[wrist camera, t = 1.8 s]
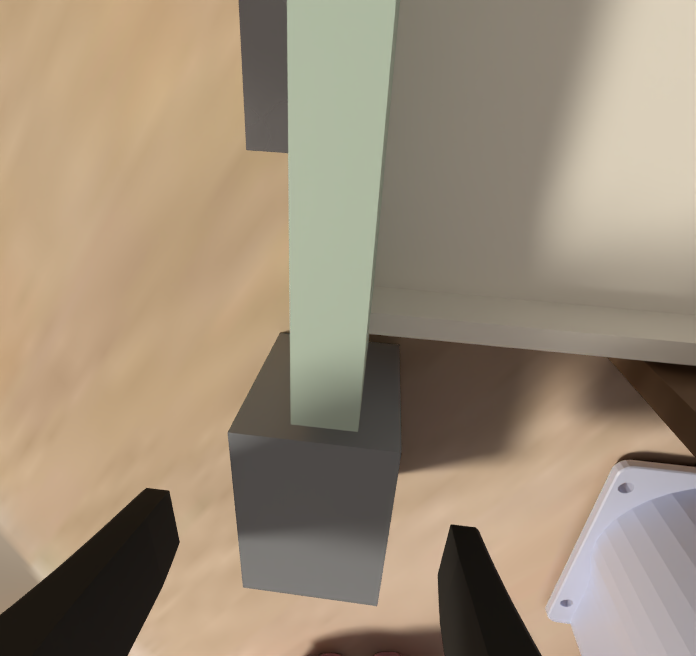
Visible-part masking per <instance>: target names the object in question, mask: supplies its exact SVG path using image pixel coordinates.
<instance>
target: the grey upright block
mask: <svg viewBox="0 0 696 656" xmlns="http://www.w3.org/2000/svg"><path fill="white" fill-rule="evenodd" d="M228 441H229V451H230V461H231V471H232V481H233V491H234V501H235V511H236V521H237V531H238V541H239V551H240V561H241V571H242V581H243V587H244V588H251V589H258V590H266V591H273V592H280V593H287V594H294V595H301V596H308V597H316V598H323V599H330V600H337V601H344V602H351V603H358V604H366V605H373V606H377V604H378V598H379V592H380V585H381V579H382V573H383V566H384V560H385V554H386V547H387V541H388V535H389V528H390V522H391V516H392V509H393V503H394V497H395V490H396V484H397V478H398V471H399V465H400V459H401V403H400V349H399V345H397V344H387V343H377V342H368V350H367V359H366V367H365V376H364V384H363V393H362V402H361V410H360V419H359V428H358V432H354V431H345V430H336V429H327V428H318V427H309V426H301V425H292V424H291V405H290V334H287V333H280V334H279V336H278V338H277V340H276V342H275V343H274V345H273V347H272V349H271V351H270V353H269V355H268V357H267V359H266V361H265V362H264V364H263V366H262V368H261V370H260V372H259V374H258V376H257V378H256V380H255V382H254V383H253V385H252V387H251V389H250V391H249V393H248V395H247V397H246V399H245V401H244V402H243V404H242V406H241V408H240V410H239V412H238V414H237V416H236V418H235V420H234V421H233V423H232V425H231V427H230V429H229V431H228Z"/></svg>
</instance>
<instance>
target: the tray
mask: <svg viewBox="0 0 696 656" xmlns="http://www.w3.org/2000/svg"><path fill="white" fill-rule="evenodd" d="M239 16H240V35H241V54H242V74H243V93H244V113H245V132H246V150H253V151H267V152H281V153H288V178H289V291H290V405H291V424H292V425H301V426H309V427H318V428H327V429H336V430H345V431H354V432H358V428H359V419H360V410H361V402H362V393H363V384H364V376H365V367H366V359H367V350H368V341H369V334H375V335H386V336H396V337H406V338H416V339H427V340H437V341H447V342H457V343H468V344H478V345H488V346H498V347H509V348H519V349H529V350H540V351H550V352H560V353H570V354H581V355H591V356H601V357H611V358H622V359H632V360H642V361H652V362H663V363H673V364H683V365H694V366H696V0H239Z"/></svg>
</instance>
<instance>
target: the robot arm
mask: <svg viewBox="0 0 696 656" xmlns="http://www.w3.org/2000/svg"><path fill="white" fill-rule="evenodd" d="M623 483H624V484H623ZM179 543H180V542H179V537H178V532H177V527H176V522H175V517H174V512H173V507H172V502H171V497H170V492H169V491H167V490H159V489H150V488H146V489H145V490H143V491H142V492H141V493H140V494H139V495H138V496H137V497H136V498H134V499H133V500H132V501H131V502H130V503H129V504H128V505H127V506H126V507H125V508H124V509H123V510H121V511H120V512H119V513H118V514H117V515H116V516H115V517H114V518H113V519H112V520H111V521H110V522H108V523H107V524H106V525H105V526H104V527H103V528H102V529H101V530H100V531H99V532H97V533H96V534H95V535H94V536H93V537H92V538H91V539H90V540H89V541H87V542H86V543H85V544H84V545H83V546H82V547H81V548H80V549H78V550H77V551H76V552H75V553H74V554H73V555H72V556H70V557H69V558H68V559H67V560H66V561H65V562H64V563H63V564H61V565H60V566H59V567H58V568H57V569H56V570H54V571H53V572H52V573H51V574H50V575H48V576H47V577H46V578H45V579H44V580H42V581H41V582H40V583H39V584H38V585H36V586H35V587H34V588H33V589H32V590H30V591H29V592H28V593H27V594H25V596H23V597H22V598H21V599H19V600H18V601H17V602H16V603H15V604H13V605H12V606H11V607H10V608H8V609H7V610H6V611H4V612H3V613H2V614H1V615H0V656H128V654H129V652H130V650H131V648H132V646H133V644H134V642H135V640H136V638H137V636H138V634H139V632H140V630H141V628H142V626H143V624H144V622H145V621H146V619H147V617H148V615H149V613H150V611H151V609H152V607H153V605H154V603H155V601H156V599H157V597H158V595H159V593H160V591H161V589H162V587H163V584H164V582H165V579H166V577H167V574H168V572H169V569H170V567H171V564H172V562H173V559H174V556H175V553H176V551H177V548H178V545H179ZM438 594H439V614H440V626H441V634H442V641H443V648H444V655H445V656H542V655H541V654H540V652H539V650H538V648H537V646H536V645H535V643H534V641H533V639H532V638H531V636H530V634H529V632H528V630H527V628H526V627H525V625H524V623H523V621H522V619H521V617H520V615H519V613H518V612H517V610H516V608H515V606H514V604H513V602H512V600H511V598H510V596H509V594H508V592H507V591H506V589H505V586H504V584H503V582H502V580H501V578H500V576H499V574H498V572H497V570H496V568H495V566H494V564H493V562H492V560H491V557H490V555H489V553H488V551H487V548H486V546H485V544H484V542H483V539H482V537H481V535H480V532H479V531H478V529H477V528H476V527H468V526H459V525H450V529H449V533H448V537H447V541H446V545H445V549H444V552H443V556H442V560H441V564H440V568H439V572H438ZM546 612H547V616H548V618H549V619H551V620H552V621H555V622H560V623H568V624H571V627H572V630H573V633H574V636H575V639H576V642H577V644H578V647H579V650H580V653H581V656H696V467H691V466H682V465H673V464H664V463H656V462H647V461H638V460H623V461H620V462H618V463H617V464H615V465H614V466H613V468H612V469H611V471H610V473H609V475H608V478H607V480H606V482H605V484H604V486H603V488H602V490H601V492H600V494H599V496H598V498H597V501H596V503H595V505H594V507H593V509H592V511H591V513H590V515H589V517H588V519H587V521H586V523H585V526H584V528H583V530H582V532H581V534H580V536H579V538H578V540H577V542H576V544H575V546H574V549H573V551H572V553H571V555H570V557H569V559H568V561H567V563H566V565H565V567H564V569H563V572H562V574H561V576H560V578H559V580H558V582H557V584H556V586H555V588H554V590H553V592H552V594H551V597H550V599H549V601H548V603H547V605H546Z"/></svg>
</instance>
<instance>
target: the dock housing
mask: <svg viewBox="0 0 696 656" xmlns="http://www.w3.org/2000/svg"><path fill="white" fill-rule="evenodd" d="M608 359H609V360H610V361H611V362H612V363H613V364H614V365H615V366H616V368H617V369H618V370H619V371H620V372H621V373H622V374H623V376H624V377H625V378H626V379H627V380H628V381H629V382H630V384H631V385H632V386H633V387H634V388H635V389H636V390H637V391H638V393H639V394H640V395H641V396H642V397H643V398H644V399H645V401H646V402H647V403H648V404H649V405H650V406H651V407H652V409H653V410H654V411H655V412H656V413H657V414H658V415H659V417H660V418H661V419H662V420H663V421H664V422H665V423H666V424H667V426H668V427H669V428H670V429H671V430H672V431H673V432H674V434H675V435H676V436H677V437H678V438H679V439H680V440H681V442H682V443H683V444H684V445H685V446H686V447H687V448H688V449H689V451H690V452H691V453H692V454H693V455H694V456H695V457H696V366H694V365H683V364H673V363H663V362H652V361H642V360H632V359H622V358H611V357H608Z"/></svg>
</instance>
